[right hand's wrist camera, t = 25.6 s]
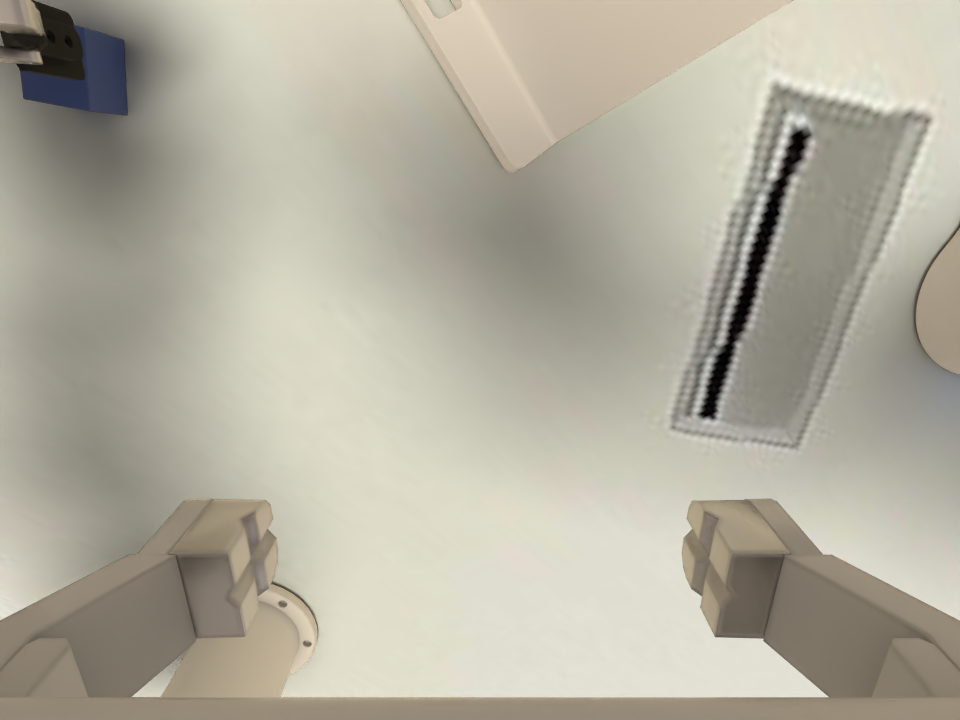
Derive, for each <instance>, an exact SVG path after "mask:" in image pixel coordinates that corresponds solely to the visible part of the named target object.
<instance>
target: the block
mask: <svg viewBox="0 0 960 720" xmlns="http://www.w3.org/2000/svg"><path fill="white" fill-rule="evenodd" d="M74 28H75V30H76V31H77V33H78V35H79V37H80V40H81V43H82V48H83V58H82V62H83V67H84V71H85V79H84V80H68V79H63V78H57V77H52V76H46V75H41V74H35V73H30V72H24V71H20V72H21V81H22V90H23V98H24V99H26V100H32V101H37V102H42V103H48V104H53V105H59V106H64V107H69V108H75V109H80V110H86V111H92V112H101V113H110V114H119V115H127V96H126V77H125V57H124V41H123V40H122V39H119V38H116V37H113V36H109V35H106V34H103V33H100V32H97V31H94V30H91V29H88V28H85V27H80V26H75V25H74Z"/></svg>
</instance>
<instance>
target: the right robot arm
mask: <svg viewBox="0 0 960 720" xmlns="http://www.w3.org/2000/svg"><path fill="white" fill-rule="evenodd" d="M916 328H917V333H918V337H919V340H920V342H921V344H922V346H923V348H924V350H925V351H926V353H927V354H928V355H929V357H930V358H931V359H932V360H933V361H934V362H935V363H937V364H938V365H939V366H941V367H942V368H944V369H946V370H948V371H950V372H953V373H956V374H959V375H960V228H959V229H958V231H957V232H956V234H955V235H954V236H953V238H952V239H951V240H950V241H949V243H948V244H947V245H946V246H945V247H944V249H943V250H942V251H941V252H940V254H939V255H938V256H937V258H936V259H935V261H934V262H933V264H932V266H931V267H930V269H929V271H928V273H927V275H926V277H925V279H924V281H923V284H922V286H921V289H920V292H919V296H918V300H917V306H916ZM272 520H273V515H272V510H271V505H270V504H269V503H268V502H267V501H266V500H238V499H215V500H214V499H189V500H186V501H183V502H182V503H181V504H180V505H179V507H178V508H177V509H176V510H175V511H174V512H173V513H172V515H171V516H170V517H169V518H168V519H167V520H166V522H165V523H164V524H163V525H162V526H161V527H160V528H159V530H158V531H157V532H156V533H155V534H154V535H153V537H152V538H151V539H150V540H149V541H148V542H147V543H146V545H145V546H144V547H143V548H142V549H141V550H140V552H139V553H138V554H137V555H127V556H125V557H123V558H121V559H119V560H117V561H115V562H113V563H111V564H109V565H107V566H105V567H104V568H102V569H100V570H98V571H96V572H94V573H92V574H90V575H88V576H86V577H84V578H82V579H80V580H78V581H76V582H74V583H72V584H70V585H69V586H67V587H65V588H63V589H61V590H59V591H57V592H55V593H53V594H51V595H49V596H47V597H45V598H43V599H41V600H39V601H37V602H36V603H34V604H32V605H30V606H28V607H26V608H24V609H22V610H20V611H18V612H16V613H14V614H12V615H10V616H8V617H6V618H4V619H2V620H1V621H0V720H960V621H959V620H957V619H955V618H953V617H951V616H949V615H947V614H946V613H944V612H942V611H940V610H938V609H936V608H934V607H932V606H930V605H928V604H926V603H924V602H922V601H920V600H918V599H916V598H915V597H913V596H911V595H909V594H907V593H905V592H903V591H901V590H899V589H897V588H895V587H893V586H891V585H889V584H887V583H885V582H884V581H882V580H880V579H878V578H876V577H874V576H872V575H870V574H868V573H866V572H864V571H862V570H860V569H858V568H856V567H854V566H853V565H851V564H849V563H847V562H845V561H843V560H841V559H839V558H837V557H835V556H833V555H823V554H822V553H821V552H820V550H819V549H818V548H817V547H816V546H815V545H814V543H813V542H812V541H811V540H810V539H809V538H808V537H807V535H806V534H805V533H804V532H803V531H802V530H801V528H800V527H799V526H798V525H797V524H796V523H795V522H794V520H793V519H792V518H791V517H790V516H789V515H788V514H787V512H786V511H785V510H784V509H783V508H782V507H781V505H780V504H779V503H778V502H777V501H775V500H773V499H745V500H710V501H692V502H691V504H690V506H689V509H688V515H687V520H688V522H689V524H690V525H691V527H692V530H691V531H690V532H689V533H688V534H687V535H686V536H685V537H684V539H683V547H682V560H683V568H684V572H685V575H686V579H687V581H688V583H689V585H690V587H691V589H692V590H694V591H695V592H697V593H698V594H699V595H701V596H702V600H701V606H700V608H701V610H702V612H703V614H704V616H705V618H706V620H707V622H708V624H709V626H710V628H711V630H712V632H713V634H714V636H715V637H729V638H764V640H763V641H764V642H765V643H767V644H768V645H769V646H770V647H771V648H772V649H774V650H775V651H776V652H777V653H778V654H779V655H781V656H782V657H783V658H784V659H785V660H786V661H788V662H789V663H790V664H791V665H792V666H793V667H795V668H796V669H797V670H798V671H799V672H800V673H802V674H803V675H804V676H805V677H806V678H807V679H809V680H810V681H811V682H812V683H813V684H814V685H816V686H817V687H818V688H819V689H820V690H821V691H823V692H824V693H825V694H826V695H827V696H829V697H830V698H557V697H261V698H182V697H132V696H133V695H134V694H135V693H136V692H137V691H139V690H140V689H141V688H142V687H143V686H145V685H146V684H147V683H148V682H149V681H150V680H152V679H153V678H154V677H155V676H156V675H157V674H159V673H160V672H161V671H162V670H163V669H164V668H166V667H167V666H168V665H169V664H170V663H171V662H173V661H174V660H175V659H176V658H177V657H178V656H180V655H181V654H182V653H183V652H184V651H185V650H187V649H188V648H189V647H190V646H191V645H193V644H194V643H195V642H196V638H229V637H245V636H246V634H247V632H248V630H249V628H250V626H251V624H252V622H253V620H254V618H255V616H256V614H257V612H258V610H259V608H260V606H259V600H258V596H259V595H261V594H262V593H263V592H265V591H266V590H268V589H269V587H270V585H271V583H272V581H273V578H274V576H275V571H276V567H277V562H278V546H277V539H276V537H275V536H274V535H273V534H272V533H271V532H270V531H269V530H268V527H269V525H270V524H271V522H272Z"/></svg>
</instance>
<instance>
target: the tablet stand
mask: <svg viewBox="0 0 960 720" xmlns="http://www.w3.org/2000/svg"><path fill="white" fill-rule="evenodd" d="M791 1H793V0H451V2H452V3H453V5H454V7H455V9H456V11H454V12H452V13H451V14H449V15H447V16H445V17H443V18H441V19H437V18H435V17H434V15H433V14H432V12H431V11H430V9H429V7H428V6H427V4H426V2H425V1H424V0H401V2H402V4H403V5H404V7H405V8H406V10H407V12H408V13H409V15H410V17H411V18H412V20H413V21H414V23H415V25H416V26H417V28H418V30H419V31H420V33H421V34H422V36H423V38H424V39H425V41H426V43H427V44H428V46H429V47H430V49H431V51H432V52H433V54H434V56H435V57H436V59H437V60H438V62H439V64H440V65H441V67H442V69H443V70H444V72H445V73H446V75H447V77H448V78H449V80H450V82H451V83H452V85H453V86H454V88H455V90H456V91H457V93H458V95H459V96H460V98H461V99H462V101H463V103H464V104H465V106H466V108H467V109H468V111H469V113H470V114H471V116H472V117H473V119H474V121H475V122H476V124H477V126H478V127H479V129H480V130H481V132H482V134H483V135H484V137H485V139H486V140H487V142H488V143H489V145H490V147H491V148H492V150H493V152H494V153H495V155H496V156H497V158H498V160H499V161H500V163H501V165H502V166H503V168H504V169H505V170H506V171H508V172H512V173H513V172H516V171H518V170H520V169H521V168H523V167H525V166H526V165H527V164H529V163H530V162H531V161H533V160H534V159H535V158H536V157H538V156H539V155H540V154H542V153H543V152H544V151H546V150H547V149H548V148H550V147H551V146H552V145H554V144H555V143H557V142H558V141H560V140H562V139H563V138H565V137H567V136H568V135H570V134H572V133H573V132H575V131H577V130H578V129H580V128H582V127H583V126H585V125H587V124H588V123H590V122H592V121H593V120H595V119H597V118H598V117H600V116H602V115H603V114H605V113H607V112H608V111H610V110H612V109H613V108H615V107H617V106H618V105H620V104H622V103H623V102H625V101H627V100H628V99H630V98H632V97H633V96H635V95H637V94H638V93H640V92H642V91H643V90H645V89H647V88H648V87H650V86H652V85H653V84H655V83H657V82H658V81H660V80H662V79H663V78H665V77H667V76H668V75H670V74H672V73H673V72H675V71H677V70H678V69H680V68H682V67H683V66H685V65H687V64H688V63H690V62H692V61H693V60H695V59H697V58H698V57H700V56H701V55H703V54H705V53H706V52H708V51H710V50H711V49H713V48H715V47H716V46H718V45H720V44H721V43H723V42H725V41H726V40H728V39H730V38H731V37H733V36H735V35H736V34H738V33H740V32H741V31H743V30H745V29H746V28H748V27H750V26H751V25H753V24H755V23H756V22H758V21H760V20H761V19H763V18H765V17H766V16H768V15H770V14H771V13H773V12H775V11H776V10H778V9H780V8H781V7H783V6H785V5H786V4H788V3H790V2H791Z"/></svg>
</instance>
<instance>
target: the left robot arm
mask: <svg viewBox="0 0 960 720" xmlns="http://www.w3.org/2000/svg"><path fill="white" fill-rule="evenodd" d="M0 32H1V36H2V39H3V43H4V47H3V46H0V62H7V63H16V64H17V66H18V67H19V69H20V71H24V72H30V73H35V74H41V75H46V76H52V77H57V78H63V79H68V80H84V79H85V71H84V67H83V62H82V58H83V48H82V43H81V40H80V37H79V35H78V33H77V31H76V30H75V28H74V23H73V20H72V18H71V16H70V15H69V14H68V13H67V12H65V11H62V10H59V9H56V8H53V7H50V6H47V5H44V4H42V3H39V2H36V1H33V0H0ZM258 600H259V606H260V608H259V610H258V612H257V614H256V616H255V618H254V620H253V622H252V624H251V626H250V628H249V630H248V632H247V634H246V636H245V637H229V638H196V642H195V643H194V644H193V645H191V646H190V647H189V648H188V649H187V650H185V651H184V652H183V653H182V654H181V655H180V656H178V657H177V658H181V659H182V662H181V664H180V665H179V667H178V669H177V670H176V672H175V674H174V676H173V677H172V679H171V681H170V682H169V684H168V686H167V687H166V689H165V691H164V692H163V694H162V696H161V697H182V698H261V697H281V694H282V692H283V689H284V686H285V684H286V681H287V678H288V675H291V674H293V673H295V672H296V671H298V670H299V669H301V668H302V667H303V666H304V665H305V664H306V663H307V662H308V661H309V659H310V658H311V656H312V654H313V652H314V649H315V646H316V642H317V637H318V632H317V625H316V622H315V619H314V617H313V615H312V613H311V612H310V610H309V608H308V607H307V606H306V605H305V604H304V603H303V602H302V601H301V600H300V599H299V598H297V597H296V596H295V595H294V594H292V593H290V592H289V591H287V590H285V589H283V588H281V587H278V586H276V585H273V584H271V585H270V587H269V589H268V590H266V591H265V592H263V593H262V594H261V595H259V596H258Z"/></svg>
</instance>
